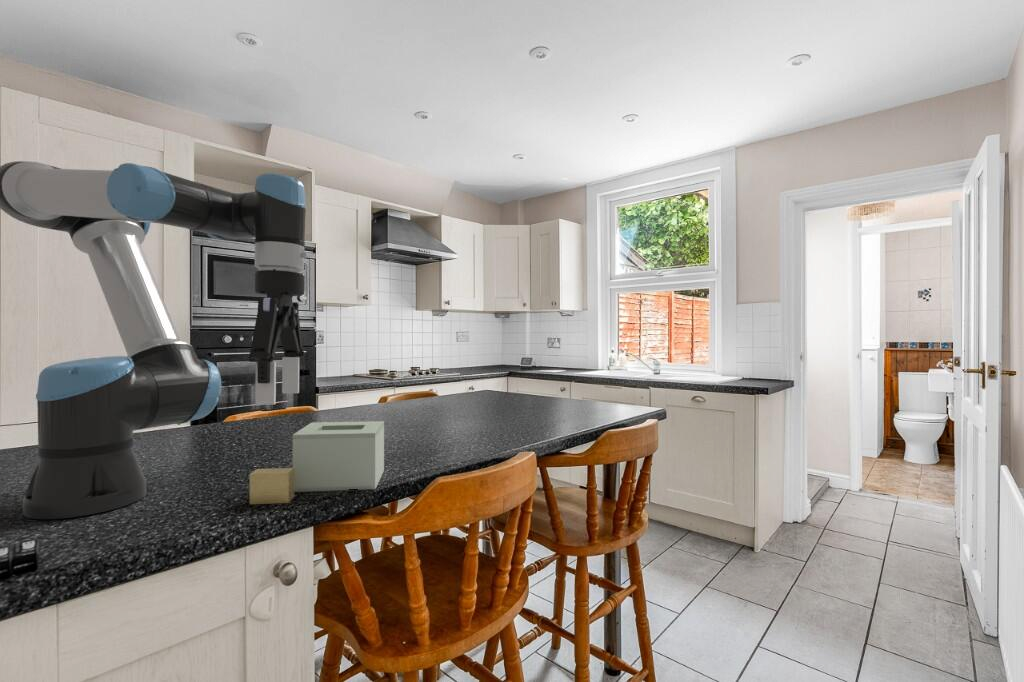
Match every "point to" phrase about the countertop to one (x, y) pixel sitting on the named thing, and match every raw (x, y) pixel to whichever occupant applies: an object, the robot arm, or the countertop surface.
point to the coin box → (338, 456)
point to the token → (272, 486)
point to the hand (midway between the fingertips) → (279, 398)
